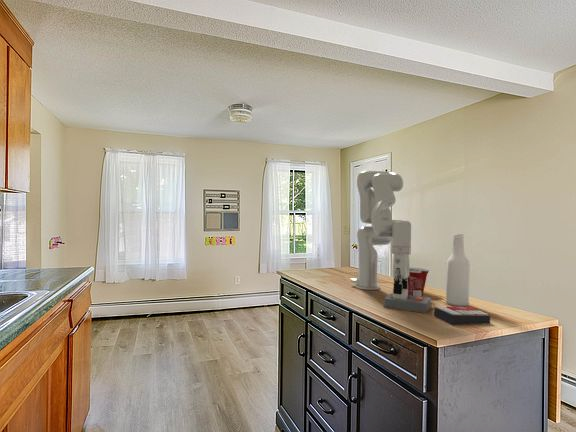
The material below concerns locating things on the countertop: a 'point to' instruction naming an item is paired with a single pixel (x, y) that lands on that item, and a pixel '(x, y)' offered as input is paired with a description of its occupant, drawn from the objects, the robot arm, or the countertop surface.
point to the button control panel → (461, 315)
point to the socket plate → (408, 303)
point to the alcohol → (457, 274)
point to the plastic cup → (424, 273)
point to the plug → (403, 295)
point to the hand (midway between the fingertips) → (400, 291)
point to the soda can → (415, 283)
